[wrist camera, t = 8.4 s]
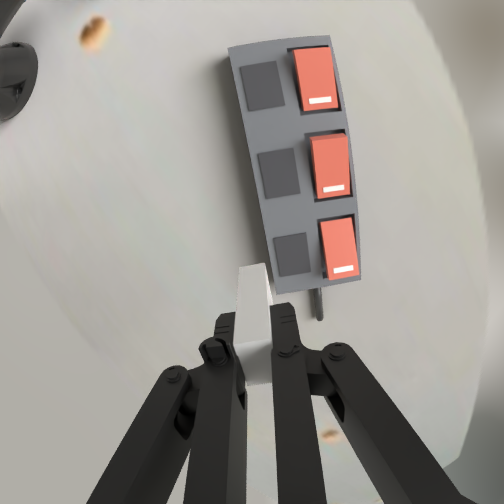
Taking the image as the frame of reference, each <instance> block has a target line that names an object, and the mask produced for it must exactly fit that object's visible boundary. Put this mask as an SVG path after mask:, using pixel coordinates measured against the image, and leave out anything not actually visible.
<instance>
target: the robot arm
mask: <svg viewBox="0 0 504 504" xmlns="http://www.w3.org/2000/svg"><path fill="white" fill-rule="evenodd" d="M25 1H26V0H0V38H1V36H2V34H3V33H4V31H5V29H6V28H7V26H8V25H9V23H10V22H11V20H12V18H13V17H14V15H15V14H16V12H17V11H18V10H19V8H20V7H21V5H22V4H23V2H25ZM37 70H38V60H37V55H36V52H35V50H34V48H33V47H32V46H31V45H29V44H27V43H22V42H13V43H9V44H6V45H2V46H0V120H3V119H9V118H11V117H13V116H15V115H16V114H17V113H18V112H19V111H20V110H21V109H22V108H23V107H24V105H25V104H26V102H27V101H28V99H29V97H30V95H31V93H32V90H33V88H34V85H35V81H36V77H37ZM198 349H199V351H200V353H201V356H202V358H203V360H204V364H203V365H201V366H199V367H197V368H194V369H191V370H188V371H187V369H186V368H185V367H183V366H180V365H177V366H171V367H169V368H167V369H165V370H164V371H163V372H162V373H161V375H160V376H159V378H158V380H157V382H156V383H155V385H154V387H153V388H152V390H151V392H150V393H149V395H148V397H147V398H146V400H145V402H144V404H143V405H142V407H141V409H140V410H139V412H138V414H137V415H136V417H135V419H134V421H133V422H132V424H131V426H130V428H129V429H128V431H127V433H126V434H125V436H124V438H123V440H122V441H121V443H120V445H119V447H118V448H117V450H116V452H115V454H114V455H113V457H112V459H111V460H110V462H109V464H108V466H107V468H106V469H105V471H104V473H103V475H102V476H101V478H100V480H99V482H98V484H97V485H96V487H95V489H94V490H93V492H92V494H91V496H90V498H89V500H88V501H87V503H86V504H166V503H167V501H168V499H169V496H170V494H171V492H172V490H173V487H174V485H175V483H176V480H177V478H178V476H179V474H180V472H181V469H182V467H183V465H184V462H185V460H186V458H187V456H188V453H189V451H190V457H189V464H188V471H187V478H186V486H185V493H184V501H183V504H246V468H247V391H246V388H245V380H246V383H247V386H249V385H257V384H265V383H272V386H273V403H274V422H275V441H276V461H277V483H278V504H327V501H326V493H325V486H324V479H323V471H322V464H321V458H320V451H319V444H318V438H317V431H316V425H315V419H314V412H313V406H312V400H311V395H318V396H324V398H325V400H326V402H327V403H328V405H329V407H330V409H331V411H332V412H333V414H334V416H335V418H336V419H337V421H338V423H339V425H340V427H341V428H342V430H343V432H344V434H345V435H346V437H347V439H348V441H349V442H350V444H351V446H352V448H353V450H354V451H355V453H356V455H357V457H358V458H359V460H360V462H361V464H362V465H363V467H364V469H365V471H366V472H367V474H368V476H369V478H370V479H371V481H372V483H373V485H374V486H375V488H376V490H377V492H378V493H379V495H380V497H381V499H382V500H383V502H384V504H477V503H475V502H473V501H471V500H470V499H468V498H466V497H464V496H463V495H461V494H460V493H459V492H458V490H457V489H456V487H455V486H454V484H453V483H452V482H451V480H450V479H449V477H448V476H447V475H446V473H445V472H444V471H443V469H442V468H441V466H440V465H439V463H438V462H437V461H436V459H435V458H434V457H433V455H432V454H431V452H430V451H429V450H428V448H427V447H426V446H425V444H424V443H423V441H422V440H421V439H420V437H419V436H418V435H417V433H416V432H415V431H414V429H413V428H412V427H411V425H410V424H409V423H408V421H407V420H406V419H405V417H404V416H403V414H402V413H401V412H400V410H399V409H398V408H397V406H396V405H395V404H394V402H393V401H392V400H391V398H390V397H389V396H388V395H387V393H386V392H385V391H384V389H383V388H382V387H381V385H380V384H379V383H378V381H377V380H376V379H375V377H374V376H373V375H372V373H371V372H370V371H369V370H368V368H367V367H366V366H365V364H364V363H363V362H362V360H361V359H360V358H359V357H358V355H357V354H356V353H355V351H354V350H353V349H352V348H351V347H350V346H349V345H348V344H345V343H339V342H336V343H332V344H329V345H327V346H326V347H324V349H323V350H322V351H319V350H311V349H308V348H306V347H305V346H304V345H303V344H302V343H301V340H300V335H299V330H298V325H297V320H296V314H295V309H294V307H293V306H292V305H291V304H290V303H289V302H287V303H282V304H276V305H273V301H272V296H271V291H270V286H269V281H268V276H267V271H266V266H265V263H260V264H254V265H248V266H243V267H239V278H238V290H237V302H236V312H231V313H224V314H221V315H220V316H219V317H218V319H217V320H216V324H215V330H214V336H213V337H210V338H208V339H206V340H204V341H203V342H202V343H201V344H200V346H199V348H198Z"/></svg>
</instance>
